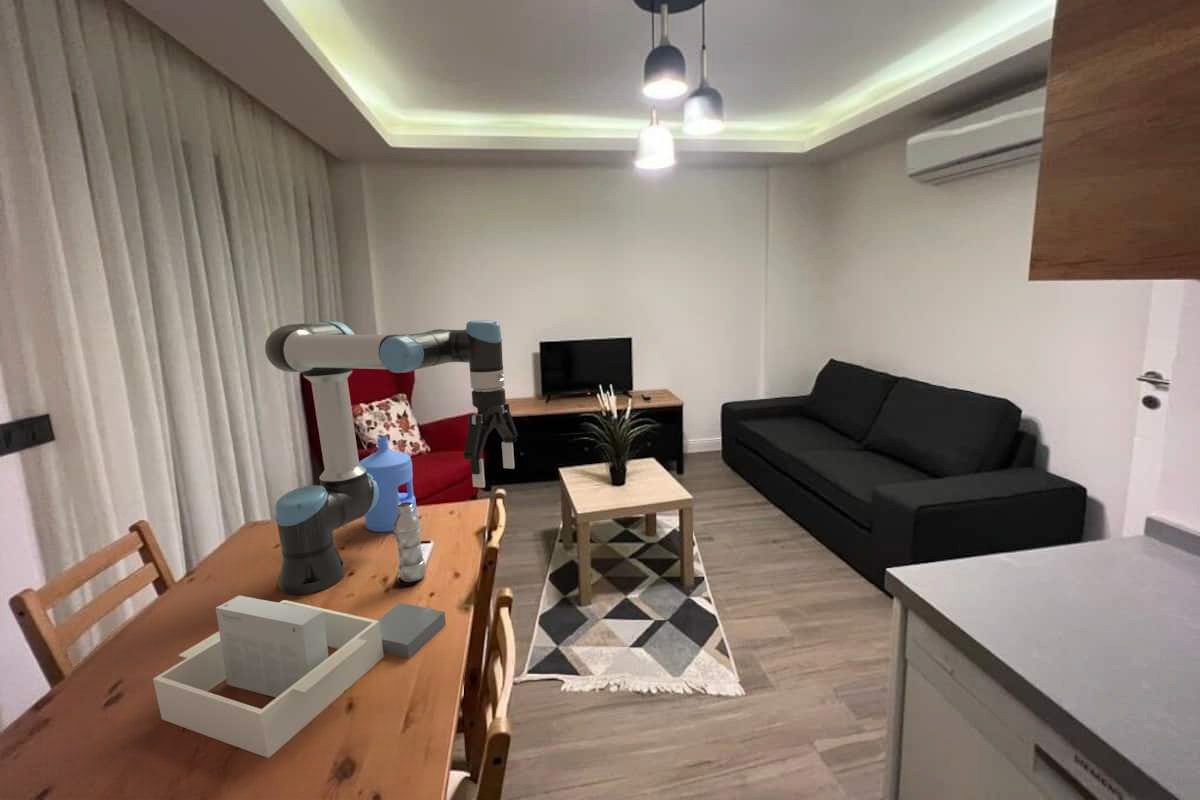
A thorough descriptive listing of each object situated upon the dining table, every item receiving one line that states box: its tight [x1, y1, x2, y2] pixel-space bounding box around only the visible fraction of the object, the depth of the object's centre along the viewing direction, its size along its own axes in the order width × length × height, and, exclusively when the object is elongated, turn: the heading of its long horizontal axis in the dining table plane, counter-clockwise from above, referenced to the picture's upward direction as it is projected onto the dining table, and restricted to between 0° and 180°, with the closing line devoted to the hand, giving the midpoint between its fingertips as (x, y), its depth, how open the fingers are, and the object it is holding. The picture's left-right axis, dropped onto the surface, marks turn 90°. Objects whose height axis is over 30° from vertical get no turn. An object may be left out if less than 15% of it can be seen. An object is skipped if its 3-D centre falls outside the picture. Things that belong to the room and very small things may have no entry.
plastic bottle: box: [393, 502, 427, 583], centre depth 139 cm, size 6×7×20 cm
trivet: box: [377, 602, 446, 659], centre depth 117 cm, size 12×12×3 cm
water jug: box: [359, 435, 419, 533], centre depth 173 cm, size 16×16×28 cm
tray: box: [152, 599, 385, 759], centre depth 103 cm, size 31×26×8 cm
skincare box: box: [215, 595, 329, 698], centre depth 102 cm, size 21×6×16 cm, turn 71°
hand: (494, 477), depth 131 cm, fingers open, 13 cm apart
